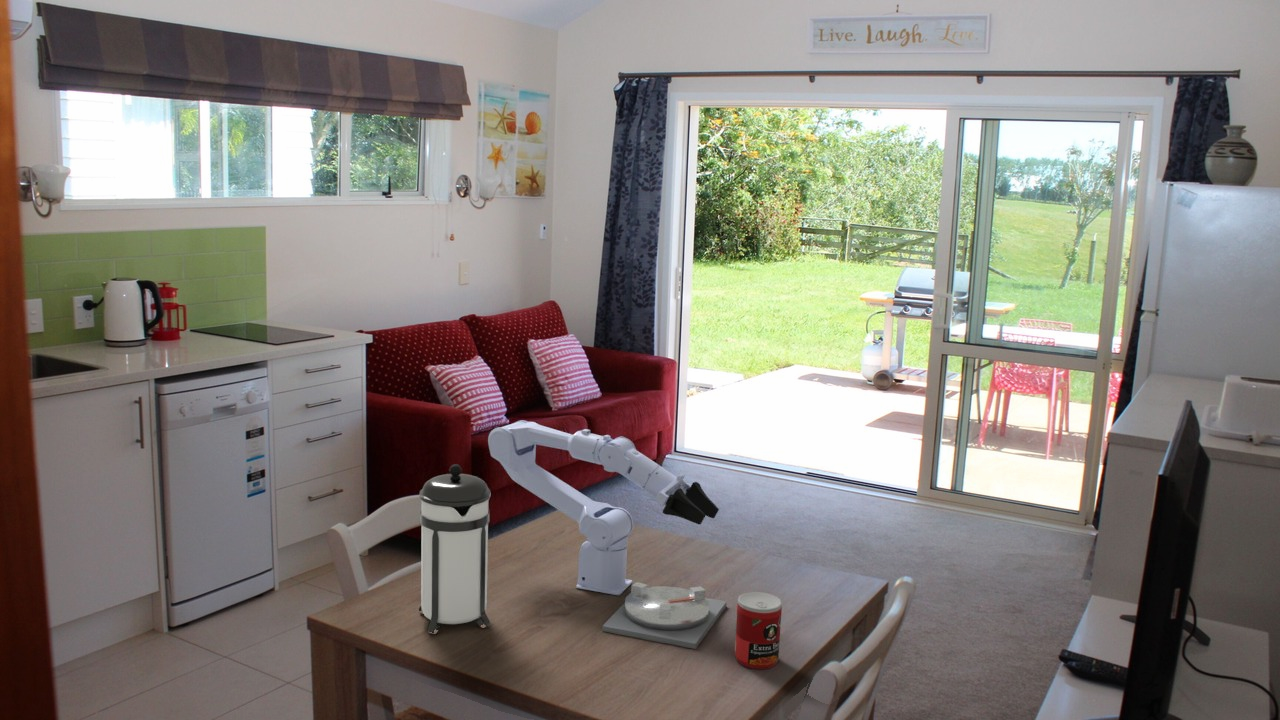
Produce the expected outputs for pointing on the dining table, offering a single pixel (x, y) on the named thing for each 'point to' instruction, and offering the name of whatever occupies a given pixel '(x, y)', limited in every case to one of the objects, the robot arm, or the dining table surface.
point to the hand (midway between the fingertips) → (709, 516)
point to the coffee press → (454, 549)
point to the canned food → (758, 630)
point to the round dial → (666, 607)
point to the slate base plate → (675, 637)
